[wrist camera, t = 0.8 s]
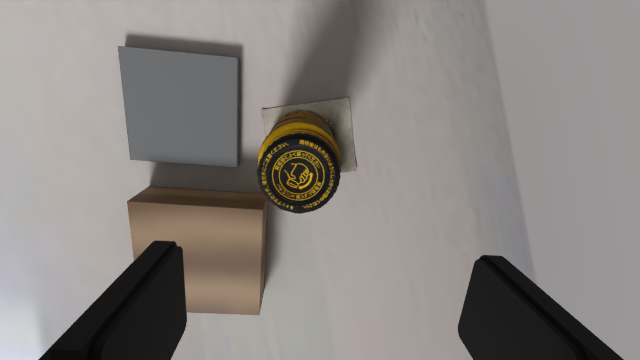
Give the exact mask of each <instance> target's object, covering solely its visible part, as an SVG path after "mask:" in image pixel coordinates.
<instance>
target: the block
mask: <svg viewBox="0 0 640 360" xmlns="http://www.w3.org/2000/svg"><path fill="white" fill-rule="evenodd" d="M267 202H268V199H267V197H266V195H265V194H255V193H240V192H225V191H210V190H195V189H180V188H165V187H150V186H149V187H147V188H146V189H145V190H143V191H142V192H140V193H139V194H137V195H136V196H134V197H133V198H132V199H130V200H129V201H127V204H128V213H129V221H130V230H131V238H132V247H133V255H134V261H135V260H136V259H137V258H138V256H139V255H140V254H141V253H142V252H143V251H144V250H145V249H146V248H147V247H148V246H149V245H150V244H151V243H152V242H153V241H156V240H157V241H175V242H176V244H177V246H181V247H182V249H183V263H184V280H185V296H186V312H191V313H218V314H244V315H259V314H260V309H261V303H262V298H263V293H264V281H265V255H266V228H267Z"/></svg>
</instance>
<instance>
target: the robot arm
mask: <svg viewBox="0 0 640 360" xmlns="http://www.w3.org/2000/svg"><path fill="white" fill-rule="evenodd" d="M186 322H187V313H186V296H185V280H184V263H183V249H182V247H181V246H177V244H176V242H175V241H157V240H156V241H153V242H152V243H151V244H150V245H149V246H148V247H147V248H146V249H145V250H144V251H143V252H142V253H141V254H140V255H139V256H138V258H137V259H136V260H135V261H134V262H133V263H132V264H131V265H130V266H129V267H128V268H127V269H126V270H125V271H124V272H123V273H122V274H121V275H120V276H119V277H118V278H117V279H116V280H115V281H114V282H113V283H112V284H111V285H110V286H109V287H108V288H107V289H106V291H105V292H104V293H103V294H102V295H101V296H100V297H99V298H98V299H97V300H96V301H95V302H94V303H93V304H92V305H91V306H90V307H89V308H88V309H87V310H86V311H85V312H84V313H83V314H82V315H81V316H80V317H79V318H78V319H77V320H76V321H75V322H74V323H73V325H72V326H71V327H70V328H69V329H68V330H67V331H66V332H65V333H64V334H63V335H62V336H61V337H60V338H59V339H58V340H57V341H56V342H55V343H54V344H53V345H52V346H51V347H50V348H49V349H48V350H47V351H46V352H45V354H44V355H43V356H42V357H41V358H40V359H39V360H171V358H172V356H173V353H174V351H175V349H176V347H177V345H178V343H179V341H180V339H181V337H182V335H183V333H184V331H185V327H186ZM458 333H459V337H460V339H461V340H462V342H463V344H464V345H465V347H466V348H467V350H468V352H469V353H470V355H471V356H472V358H473V360H623V359H622V358H621V357H620V356H619V355H618V354H616V353H615V352H614V351H613V350H612V349H611V348H609V347H608V346H607V345H606V344H605V343H603V342H602V341H601V340H600V339H599V338H598V337H596V336H595V335H594V334H593V333H592V332H591V331H590V330H588V329H587V328H586V327H585V326H584V325H582V324H581V323H580V322H579V321H578V320H577V319H575V318H574V317H573V316H572V315H571V314H570V313H568V312H567V311H566V310H565V309H564V308H562V307H561V306H560V305H559V304H558V303H557V302H555V301H554V300H553V299H552V298H551V297H550V296H549V295H547V294H546V293H545V292H544V291H543V290H542V289H540V288H539V287H538V286H537V285H536V284H535V283H533V282H532V281H531V280H530V279H529V278H528V277H526V276H525V275H524V274H523V273H522V272H520V271H519V270H518V269H517V268H516V267H515V266H513V265H512V264H511V263H510V262H509V261H508V260H506V259H505V258H504V257H502V256H491V255H483V256H481V257H480V258H479V259H478V260H476V261H475V263H474V267H473V271H472V274H471V278H470V282H469V286H468V290H467V294H466V297H465V301H464V305H463V309H462V313H461V317H460V320H459V324H458Z"/></svg>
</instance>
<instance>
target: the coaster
mask: <svg viewBox="0 0 640 360" xmlns="http://www.w3.org/2000/svg"><path fill="white" fill-rule="evenodd" d="M118 52H119V61H120V70H121V79H122V88H123V97H124V106H125V116H126V125H127V134H128V143H129V152H130V160H142V161H156V162H169V163H183V164H197V165H211V166H225V167H237V166H238V165H239V68H240V58H235V57H225V56H215V55H205V54H195V53H184V52H174V51H164V50H154V49H144V48H133V47H123V46H118Z"/></svg>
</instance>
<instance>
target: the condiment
mask: <svg viewBox="0 0 640 360" xmlns="http://www.w3.org/2000/svg"><path fill="white" fill-rule="evenodd" d="M261 111H262V117H263V122H264V127H265V132H266V138H265V140H264V142H263V143H262V146H261V148H260V152H259V156H258V169H257V176H258V182H259V184H260V188H261V189H262V192H263V193H264V194H265V195H266V197H267V199H268V200H269V201H271V202H272V203H273V204H274V205H276V206H277V207H278V208H279V209H282V210H285V211H289V212H293V213H305V212H310V211H314V210H316V209H319V208H321V207H322V206H324V205H325V204H326V203H327V202H328V201H329V200H330V199H331V198H332V197H333V195H334V193H335V192H336V190H337V187H338V185H339V179H340V172H349V171H356V162H355V153H354V143H353V132H352V122H351V112H350V101H349V98H342V99H334V100H327V101H320V102H313V103H305V104H298V105H291V106H283V107H276V108H269V109H263V110H261ZM326 120H328V122H327V121H326ZM329 122H332V124H330V123H329Z"/></svg>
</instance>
